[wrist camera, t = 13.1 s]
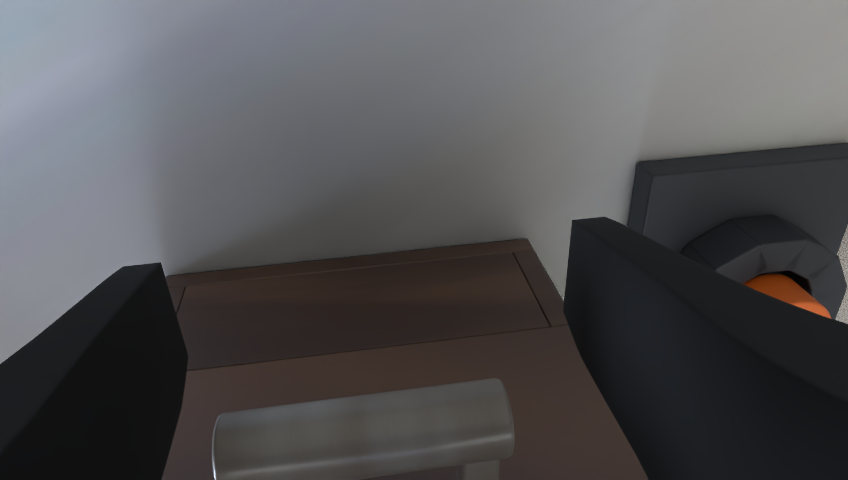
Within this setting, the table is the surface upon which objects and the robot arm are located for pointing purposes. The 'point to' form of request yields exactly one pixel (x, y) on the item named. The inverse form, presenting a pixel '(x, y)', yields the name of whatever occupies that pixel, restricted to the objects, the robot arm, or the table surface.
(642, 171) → the panel
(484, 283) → the compartment
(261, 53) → the table surface
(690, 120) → the table surface
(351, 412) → the lid
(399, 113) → the table surface
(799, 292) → the release button
